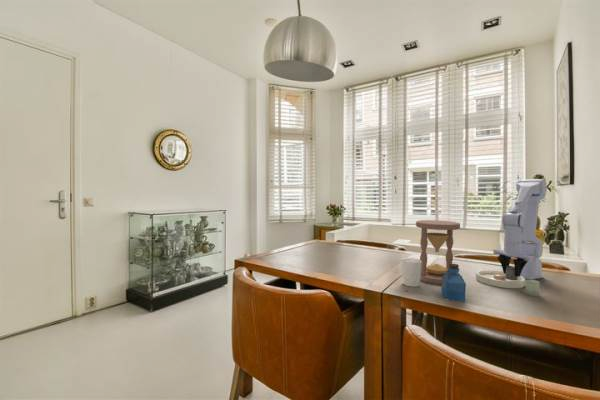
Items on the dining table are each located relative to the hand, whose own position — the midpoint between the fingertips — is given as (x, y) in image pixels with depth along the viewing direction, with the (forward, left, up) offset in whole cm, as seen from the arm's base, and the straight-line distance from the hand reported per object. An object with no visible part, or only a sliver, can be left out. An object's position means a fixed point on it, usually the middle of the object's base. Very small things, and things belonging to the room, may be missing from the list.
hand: (511, 274), depth 120 cm
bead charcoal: (0, 0, -2) cm, 2 cm away
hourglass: (+22, -18, -4) cm, 29 cm away
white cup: (+38, -16, -4) cm, 41 cm away
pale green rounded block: (+4, +10, -4) cm, 12 cm away
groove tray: (0, -5, -4) cm, 6 cm away
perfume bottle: (+34, +1, -4) cm, 34 cm away
